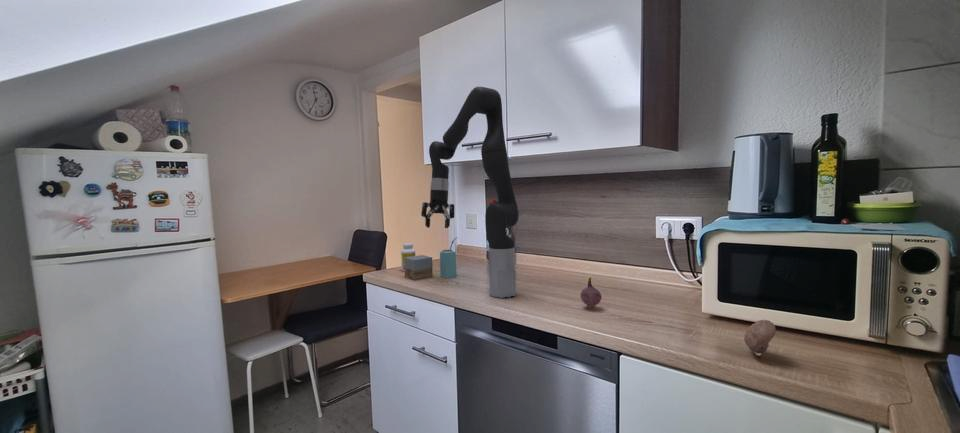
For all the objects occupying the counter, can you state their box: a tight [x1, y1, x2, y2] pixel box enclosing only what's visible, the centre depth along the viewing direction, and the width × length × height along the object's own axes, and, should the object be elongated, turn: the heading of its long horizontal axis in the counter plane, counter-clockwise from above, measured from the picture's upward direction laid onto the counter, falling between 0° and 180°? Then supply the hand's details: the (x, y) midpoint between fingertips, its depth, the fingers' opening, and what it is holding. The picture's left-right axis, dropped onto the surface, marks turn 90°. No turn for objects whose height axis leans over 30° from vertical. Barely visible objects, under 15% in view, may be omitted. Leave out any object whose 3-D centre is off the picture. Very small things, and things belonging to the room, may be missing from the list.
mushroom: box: [743, 319, 777, 354], centre depth 80 cm, size 8×6×8 cm
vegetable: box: [580, 277, 602, 308], centre depth 114 cm, size 6×6×10 cm
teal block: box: [439, 250, 457, 280], centre depth 159 cm, size 5×5×11 cm
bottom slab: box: [404, 268, 434, 282], centre depth 160 cm, size 9×9×4 cm
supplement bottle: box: [400, 242, 416, 273], centre depth 174 cm, size 7×7×13 cm
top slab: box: [404, 254, 434, 271], centre depth 160 cm, size 9×9×4 cm
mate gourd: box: [441, 236, 459, 252], centre depth 181 cm, size 8×8×15 cm
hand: (437, 227), depth 154 cm, fingers open, 8 cm apart
